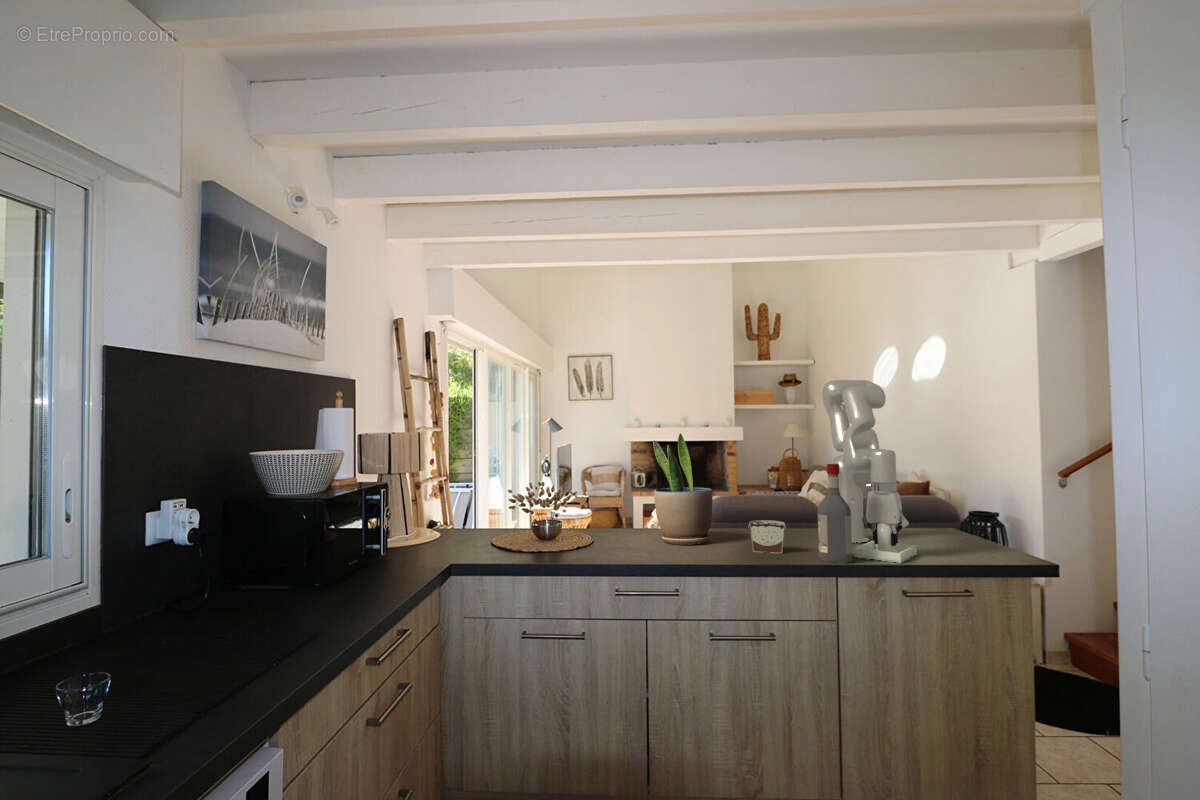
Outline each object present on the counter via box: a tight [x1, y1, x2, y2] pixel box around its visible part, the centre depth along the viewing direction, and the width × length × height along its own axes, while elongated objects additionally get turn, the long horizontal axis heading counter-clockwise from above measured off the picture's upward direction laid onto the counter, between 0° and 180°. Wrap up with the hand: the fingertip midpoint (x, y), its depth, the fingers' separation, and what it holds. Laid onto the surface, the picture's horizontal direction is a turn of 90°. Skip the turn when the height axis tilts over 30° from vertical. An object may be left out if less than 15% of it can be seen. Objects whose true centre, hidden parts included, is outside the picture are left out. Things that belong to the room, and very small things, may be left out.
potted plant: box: [652, 432, 713, 546], centre depth 231 cm, size 21×22×40 cm
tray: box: [853, 540, 918, 564], centre depth 202 cm, size 14×18×3 cm
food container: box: [748, 519, 787, 554], centre depth 212 cm, size 12×6×10 cm, turn 71°
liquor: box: [817, 463, 853, 564], centre depth 196 cm, size 9×9×30 cm
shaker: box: [877, 523, 893, 551], centre depth 202 cm, size 5×5×11 cm
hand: (885, 544), depth 202 cm, fingers closed on shaker, 4 cm apart
